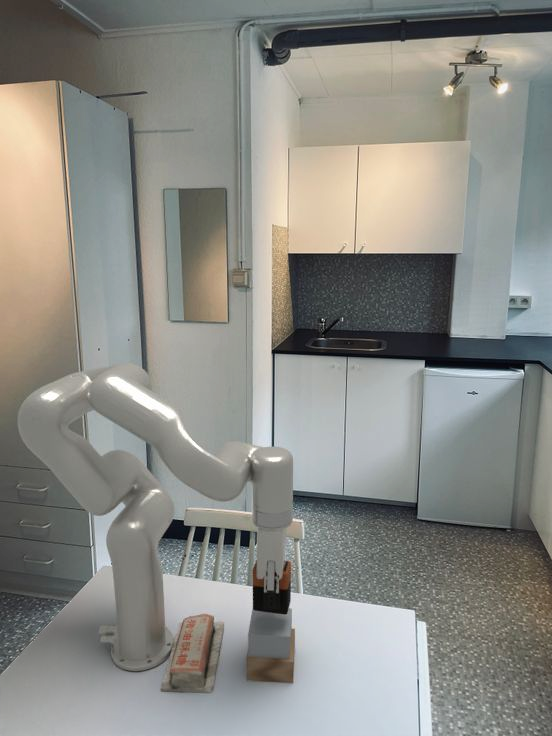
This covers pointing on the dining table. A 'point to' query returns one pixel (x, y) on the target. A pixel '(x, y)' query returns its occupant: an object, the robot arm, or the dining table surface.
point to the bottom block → (272, 667)
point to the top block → (270, 635)
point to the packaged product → (194, 655)
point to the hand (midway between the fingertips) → (272, 598)
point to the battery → (283, 586)
